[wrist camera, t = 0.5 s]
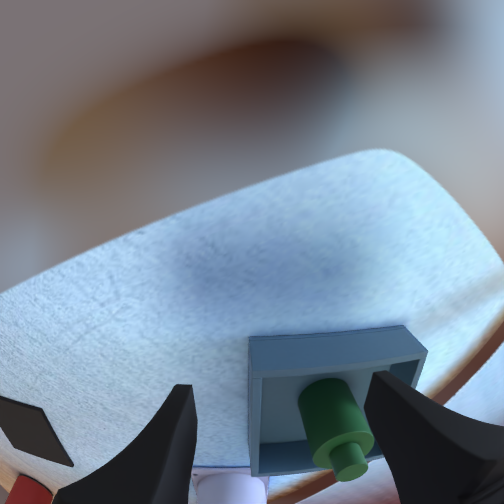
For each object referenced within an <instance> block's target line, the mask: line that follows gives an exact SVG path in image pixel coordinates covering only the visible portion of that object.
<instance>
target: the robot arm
mask: <svg viewBox="0 0 504 504" xmlns="http://www.w3.org/2000/svg"><path fill="white" fill-rule="evenodd" d="M363 408H364V411H365V415H366V418H367V421H368V424H369V427H370V429H371V431H372V433H373V435H374V437H375V439H376V441H377V443H378V445H379V447H380V449H381V451H382V453H383V455H384V457H385V459H386V461H387V463H388V465H389V468H390V470H391V472H392V475H393V478H394V481H395V484H396V488H397V491H398V495H399V498H400V502H401V504H504V426H499V425H494V424H489V423H485V422H481V421H478V420H475V419H472V418H469V417H466V416H463V415H461V414H459V413H456V412H454V411H452V410H450V409H448V408H446V407H444V406H442V405H440V404H438V403H436V402H435V401H433V400H431V399H429V398H428V397H426V396H424V395H423V394H421V393H420V392H418V391H417V390H415V389H414V388H412V387H411V386H409V385H408V384H406V383H405V382H403V381H402V380H400V379H399V378H397V377H396V376H394V375H393V374H391V373H390V372H388V371H387V370H383V371H377V372H373V374H372V378H371V382H370V385H369V389H368V393H367V396H366V400H365V403H364V407H363ZM197 421H198V420H197V414H196V408H195V401H194V395H193V388H192V385H185V384H176V385H175V386H174V387H173V389H172V391H171V392H170V394H169V395H168V397H167V399H166V400H165V402H164V403H163V404H162V406H161V407H160V409H159V410H158V411H157V413H156V414H155V415H154V417H153V418H152V419H151V421H150V422H149V423H148V424H147V425H146V427H145V428H144V429H143V430H142V431H141V432H140V434H139V435H138V436H137V437H136V438H135V439H134V440H133V441H132V442H131V443H130V444H129V445H128V446H127V447H126V448H125V449H124V450H122V451H121V452H120V453H119V454H118V455H116V456H115V457H114V458H113V459H112V460H110V461H109V462H108V463H106V464H105V465H103V466H102V467H100V468H99V469H97V470H96V471H94V472H93V473H91V474H89V475H88V476H86V477H84V478H83V479H81V480H79V481H77V482H74V483H72V484H70V485H68V486H66V487H64V488H61V489H59V490H58V492H57V494H56V495H55V497H54V499H53V502H52V504H188V493H189V484H190V478H191V477H192V481H193V484H194V488H195V491H196V495H197V504H267V493H268V483H269V476H266V477H251V470H250V468H199V467H193V468H192V466H193V461H194V455H195V449H196V442H197Z"/></svg>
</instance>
